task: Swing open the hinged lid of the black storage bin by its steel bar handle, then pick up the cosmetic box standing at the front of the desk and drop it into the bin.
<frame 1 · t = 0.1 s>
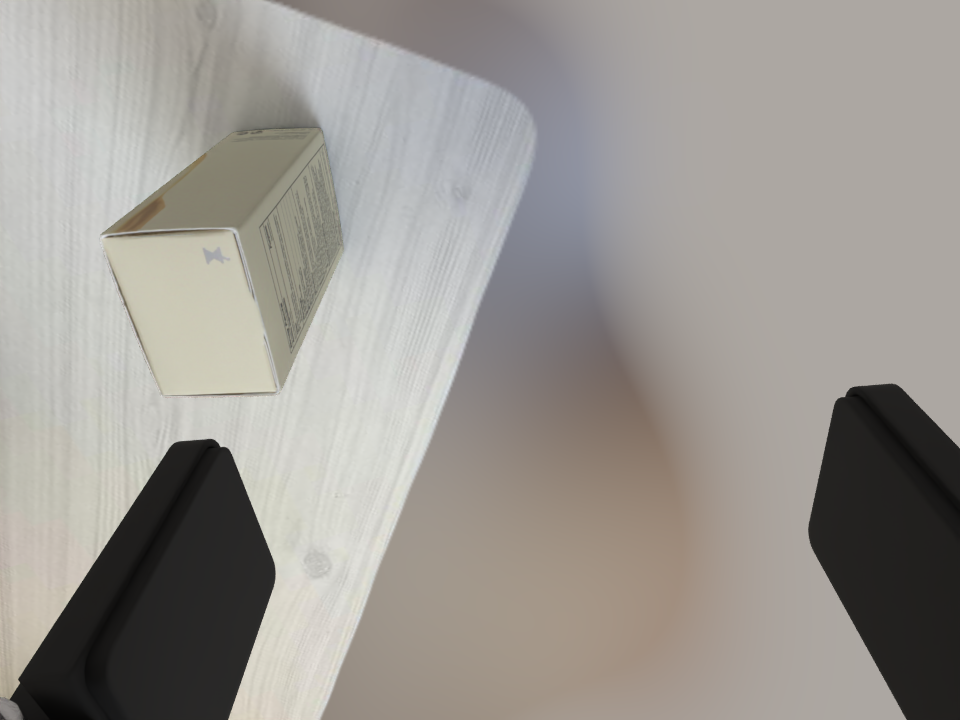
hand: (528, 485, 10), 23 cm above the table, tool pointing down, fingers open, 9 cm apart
cosmetic box: (292, 196, 31), on the table
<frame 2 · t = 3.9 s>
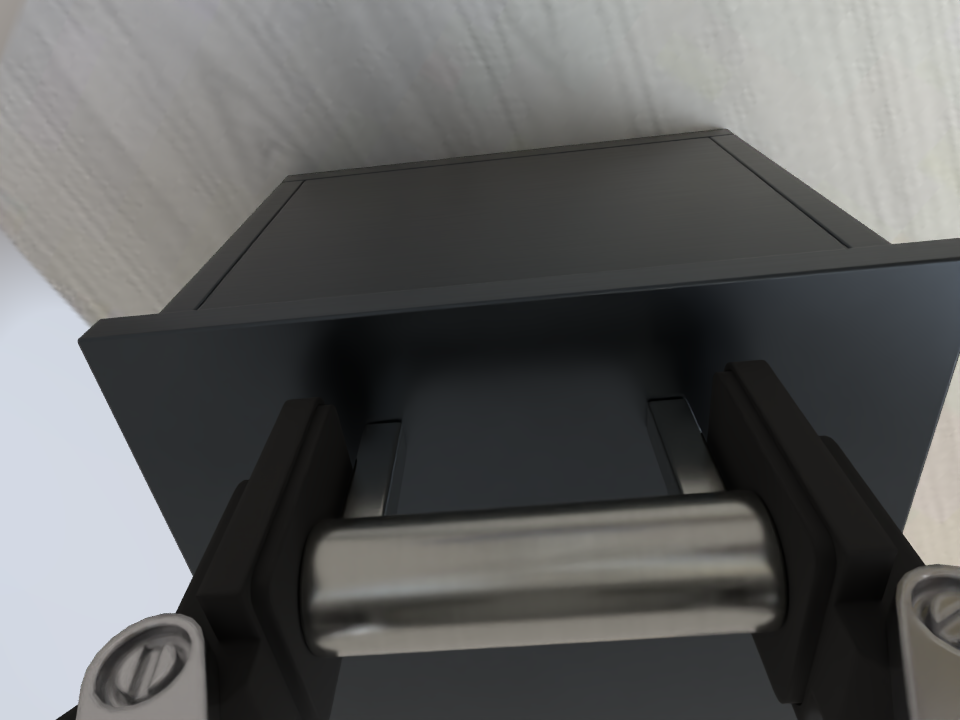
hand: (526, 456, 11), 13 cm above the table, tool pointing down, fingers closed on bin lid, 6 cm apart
black storage bin: (522, 375, 26), on the table
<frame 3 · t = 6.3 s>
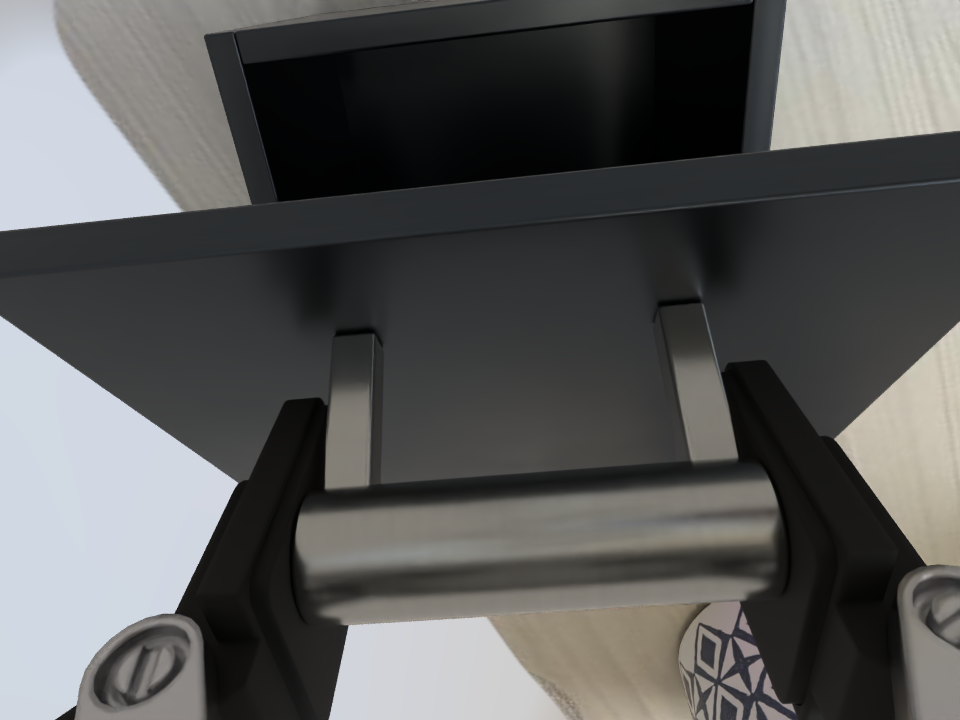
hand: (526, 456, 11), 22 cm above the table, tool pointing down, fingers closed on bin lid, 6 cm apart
planter: (788, 638, 46), on the table
bin lid: (534, 534, 15), point 19 cm above the table, hinge at 32.2°, touching gripper
black storage bin: (507, 206, 31), on the table
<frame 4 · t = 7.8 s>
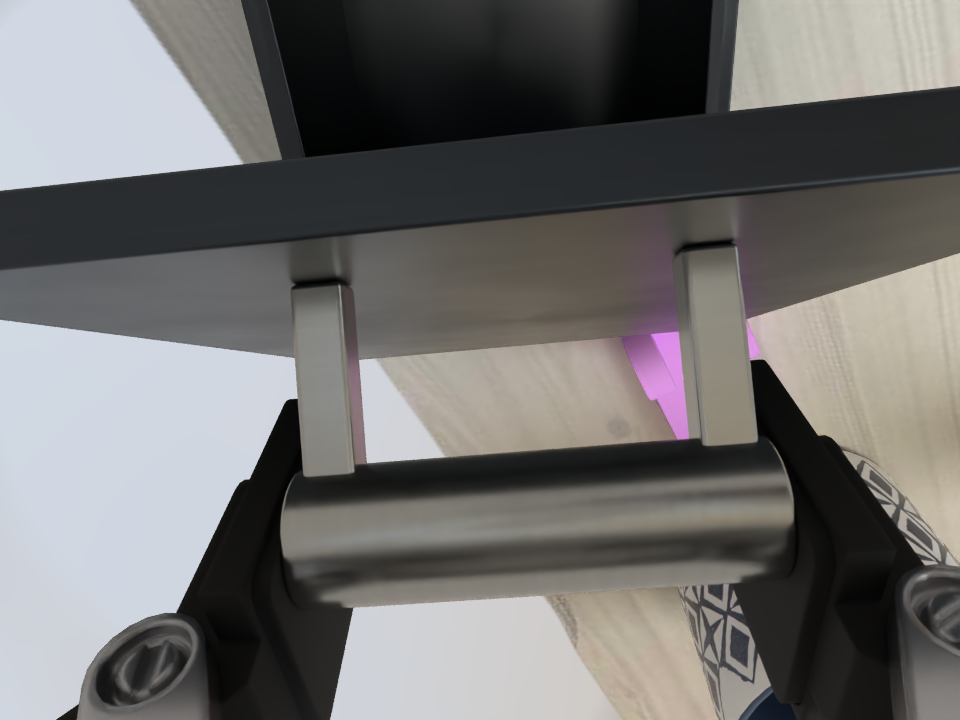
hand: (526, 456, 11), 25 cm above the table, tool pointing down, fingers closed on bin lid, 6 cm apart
planter: (778, 527, 46), on the table
bin lid: (522, 393, 15), point 21 cm above the table, hinge at 56.6°, touching gripper
bracket: (691, 360, 39), on the table
black storage bin: (493, 44, 30), on the table
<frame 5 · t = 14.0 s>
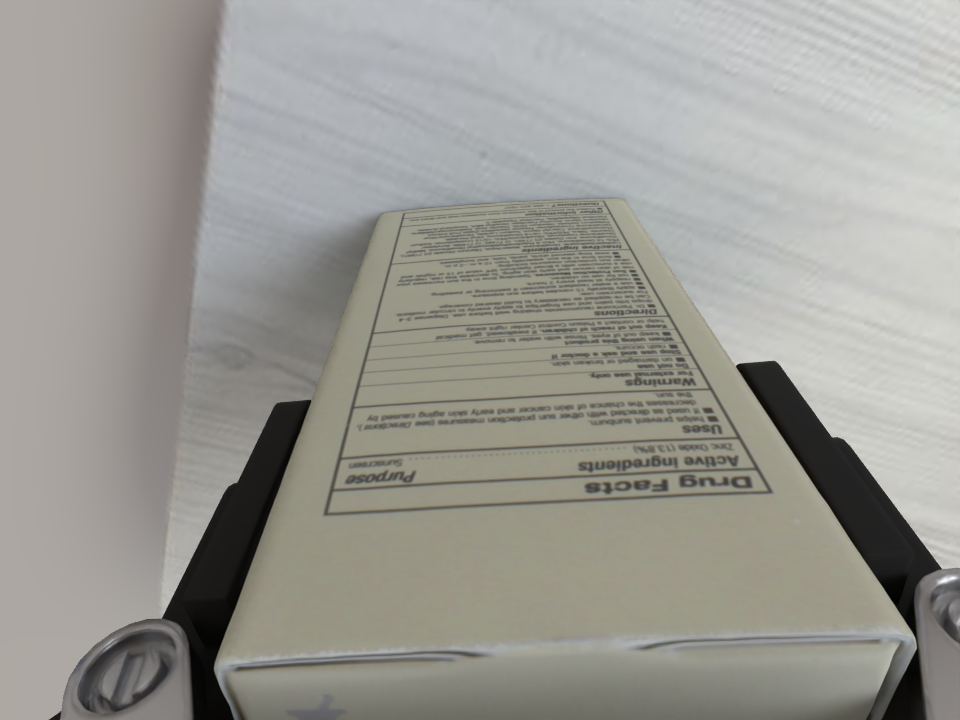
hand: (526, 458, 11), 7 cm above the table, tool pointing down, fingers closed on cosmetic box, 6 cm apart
cosmetic box: (511, 277, 17), on the table, touching gripper
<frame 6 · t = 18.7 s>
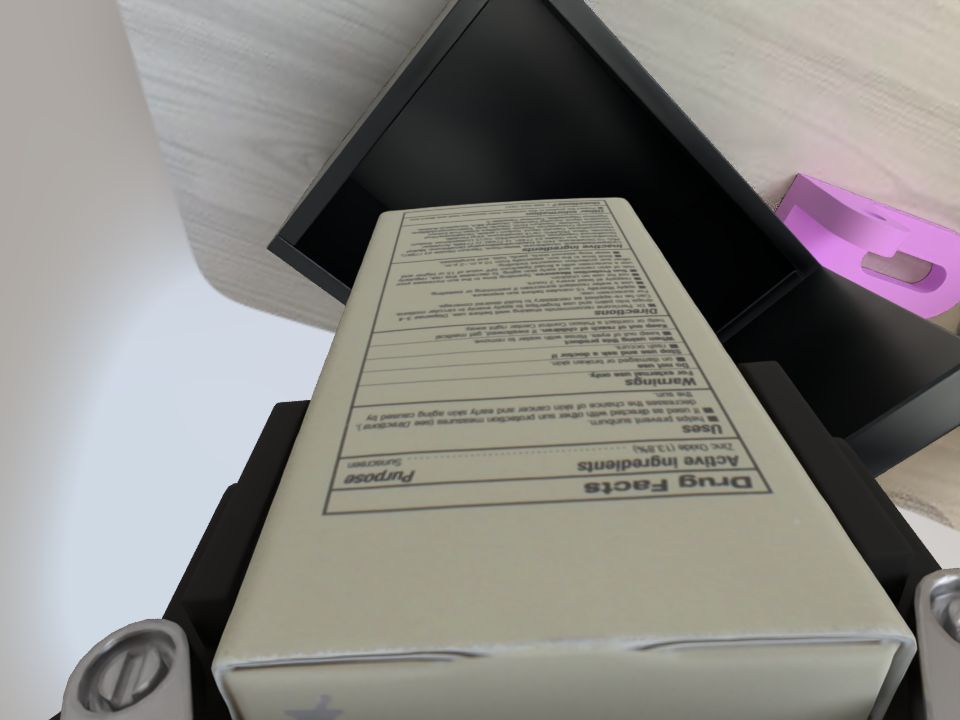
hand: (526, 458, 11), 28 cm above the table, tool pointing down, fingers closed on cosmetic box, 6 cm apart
cosmetic box: (511, 277, 17), point 21 cm above the table, touching gripper
bin lid: (715, 499, 21), point 21 cm above the table, hinge at 61.5°, touching gripper
bracket: (863, 250, 39), on the table
black storage bin: (528, 173, 37), on the table
when the fingers open (29 cm above the table, at t = 19.2 s): cosmetic box drops 20 cm, resting on black storage bin.
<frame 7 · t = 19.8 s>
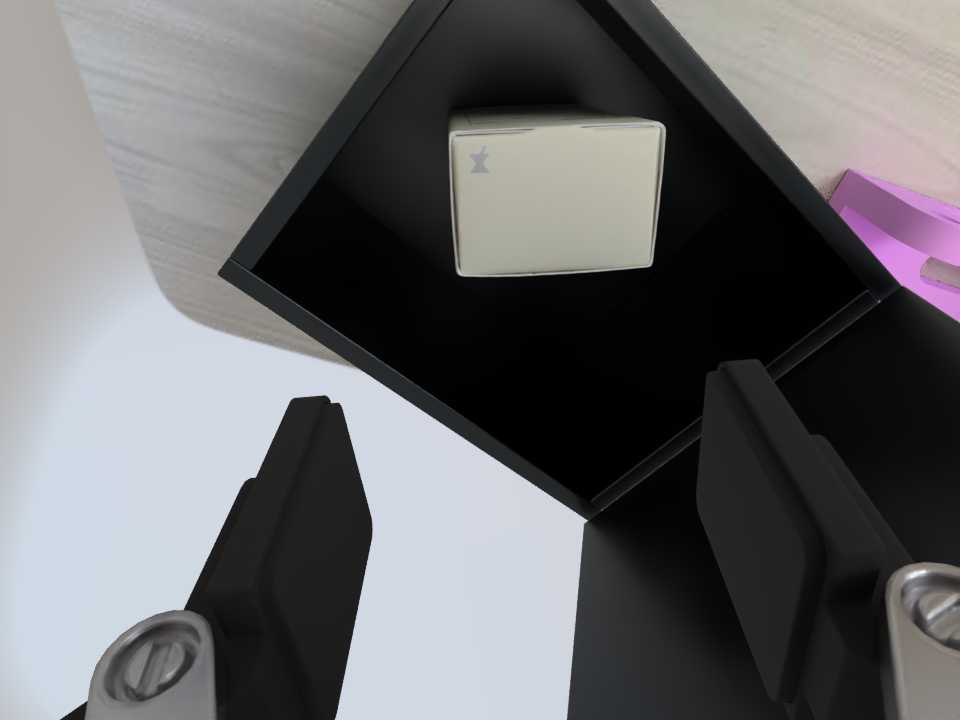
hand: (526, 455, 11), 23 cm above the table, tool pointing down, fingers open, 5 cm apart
cosmetic box: (519, 154, 30), point 1 cm above the table, touching black storage bin
bin lid: (845, 648, 16), point 22 cm above the table, hinge at 73.9°
bracket: (920, 255, 34), on the table
black storage bin: (534, 174, 32), on the table
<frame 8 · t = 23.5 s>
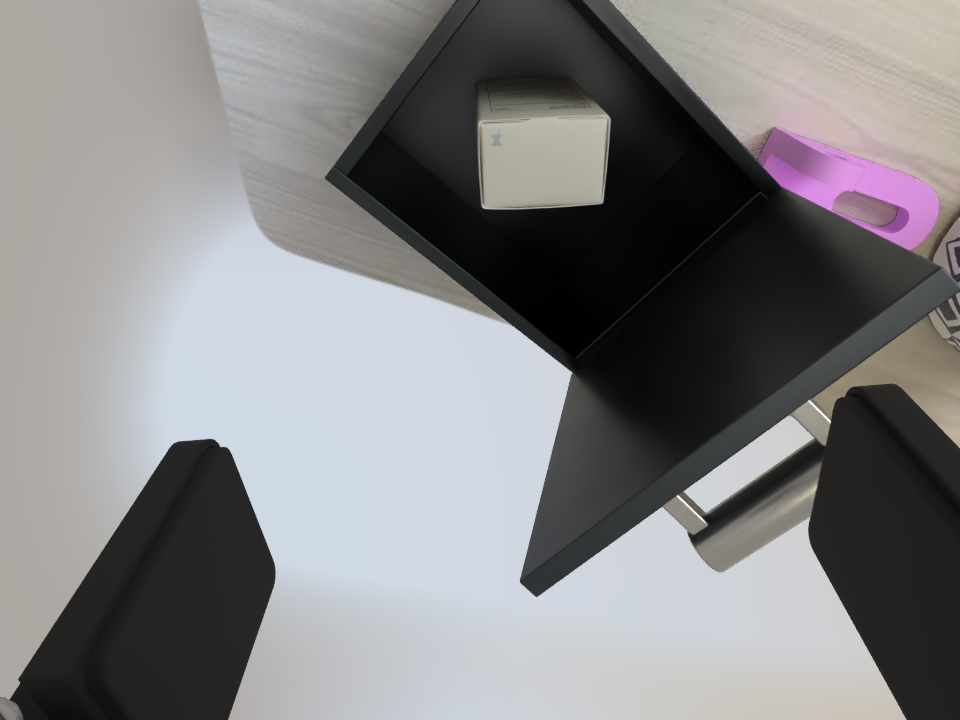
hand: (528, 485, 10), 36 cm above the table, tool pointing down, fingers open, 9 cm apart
cosmetic box: (526, 113, 41), point 1 cm above the table, touching black storage bin
bin lid: (720, 385, 27), point 22 cm above the table, hinge at 73.9°
bracket: (835, 196, 45), on the table
black storage bin: (538, 131, 43), on the table
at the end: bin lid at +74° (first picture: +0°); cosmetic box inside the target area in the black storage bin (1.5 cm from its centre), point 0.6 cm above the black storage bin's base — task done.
